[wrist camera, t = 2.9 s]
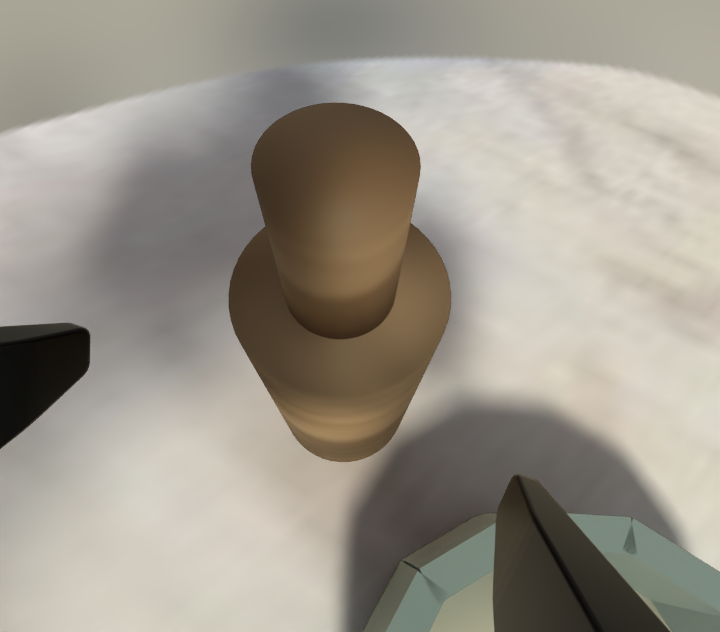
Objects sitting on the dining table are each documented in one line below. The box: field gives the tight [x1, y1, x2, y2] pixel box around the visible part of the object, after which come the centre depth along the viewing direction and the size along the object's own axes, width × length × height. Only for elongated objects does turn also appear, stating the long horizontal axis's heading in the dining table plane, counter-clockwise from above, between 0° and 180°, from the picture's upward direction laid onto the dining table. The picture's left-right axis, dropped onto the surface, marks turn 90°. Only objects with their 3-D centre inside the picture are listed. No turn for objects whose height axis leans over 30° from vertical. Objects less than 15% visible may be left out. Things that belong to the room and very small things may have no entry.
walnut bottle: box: [229, 103, 451, 462], centre depth 13 cm, size 5×5×14 cm
